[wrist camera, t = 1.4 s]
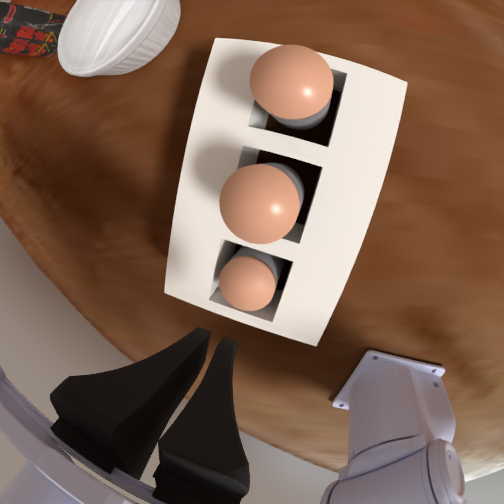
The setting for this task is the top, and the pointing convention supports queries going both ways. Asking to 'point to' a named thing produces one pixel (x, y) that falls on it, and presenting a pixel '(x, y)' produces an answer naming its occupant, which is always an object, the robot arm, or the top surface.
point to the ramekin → (115, 35)
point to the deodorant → (29, 30)
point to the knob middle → (261, 202)
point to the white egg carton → (300, 236)
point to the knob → (293, 86)
